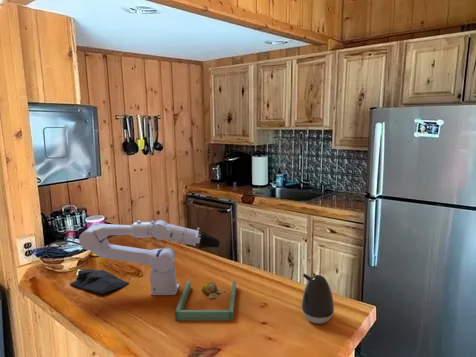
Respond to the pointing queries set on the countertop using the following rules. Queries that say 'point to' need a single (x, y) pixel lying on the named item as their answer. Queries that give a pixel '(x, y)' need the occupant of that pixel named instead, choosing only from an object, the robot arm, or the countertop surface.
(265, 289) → the countertop surface
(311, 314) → the pump dispenser
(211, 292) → the fruit
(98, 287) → the black fabric pouch
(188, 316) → the green u-shaped bracket
